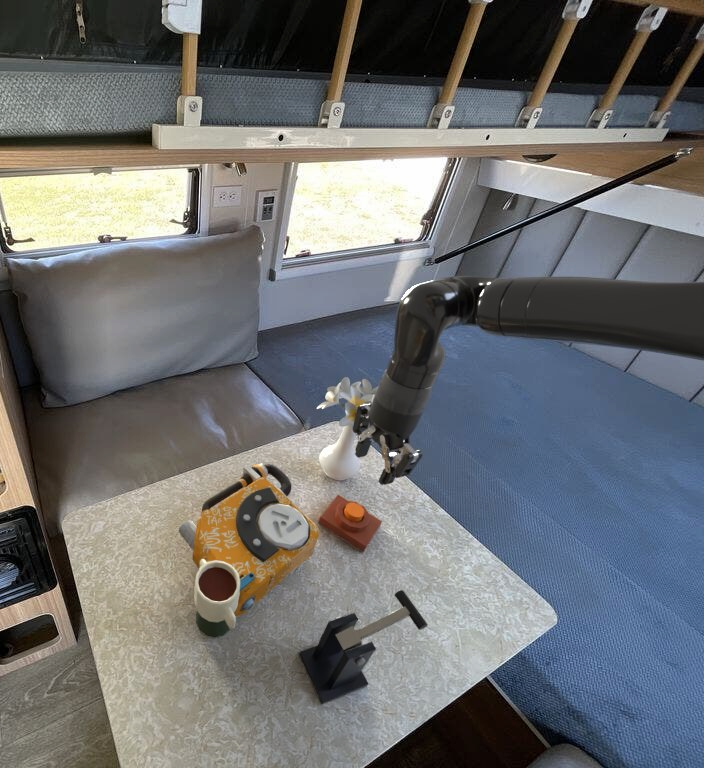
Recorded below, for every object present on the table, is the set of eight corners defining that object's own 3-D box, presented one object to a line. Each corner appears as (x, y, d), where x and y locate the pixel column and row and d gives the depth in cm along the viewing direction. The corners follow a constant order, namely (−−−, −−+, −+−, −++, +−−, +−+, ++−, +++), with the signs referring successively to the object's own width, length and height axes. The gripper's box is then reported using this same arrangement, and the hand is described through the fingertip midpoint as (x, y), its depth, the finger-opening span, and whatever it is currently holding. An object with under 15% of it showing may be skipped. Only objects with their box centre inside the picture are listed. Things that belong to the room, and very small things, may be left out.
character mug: (247, 641, 67) (256, 603, 60) (210, 662, 65) (214, 625, 57) (216, 583, 75) (220, 543, 67) (182, 599, 73) (182, 560, 65)
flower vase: (387, 481, 95) (424, 398, 81) (318, 498, 91) (345, 414, 76) (354, 444, 106) (382, 364, 91) (291, 457, 101) (310, 376, 86)
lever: (402, 593, 61) (403, 587, 59) (427, 627, 57) (428, 622, 55) (331, 629, 60) (329, 624, 59) (350, 666, 56) (349, 661, 55)
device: (158, 510, 78) (268, 446, 93) (159, 535, 83) (264, 470, 97) (235, 609, 63) (351, 514, 78) (231, 632, 68) (341, 539, 83)
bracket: (340, 639, 68) (360, 602, 60) (366, 686, 62) (392, 652, 55) (298, 654, 66) (313, 618, 58) (321, 704, 60) (341, 672, 53)
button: (364, 514, 84) (367, 509, 83) (357, 525, 81) (359, 520, 80) (348, 504, 86) (350, 499, 85) (340, 515, 83) (342, 509, 82)
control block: (379, 527, 85) (384, 515, 83) (363, 552, 81) (368, 541, 78) (335, 500, 91) (339, 489, 88) (318, 522, 86) (322, 511, 84)
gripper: (454, 422, 61) (415, 494, 71) (390, 371, 72) (364, 438, 82) (413, 432, 59) (379, 504, 69) (354, 377, 70) (332, 446, 80)
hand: (371, 468), depth 75 cm, fingers open, 6 cm apart
